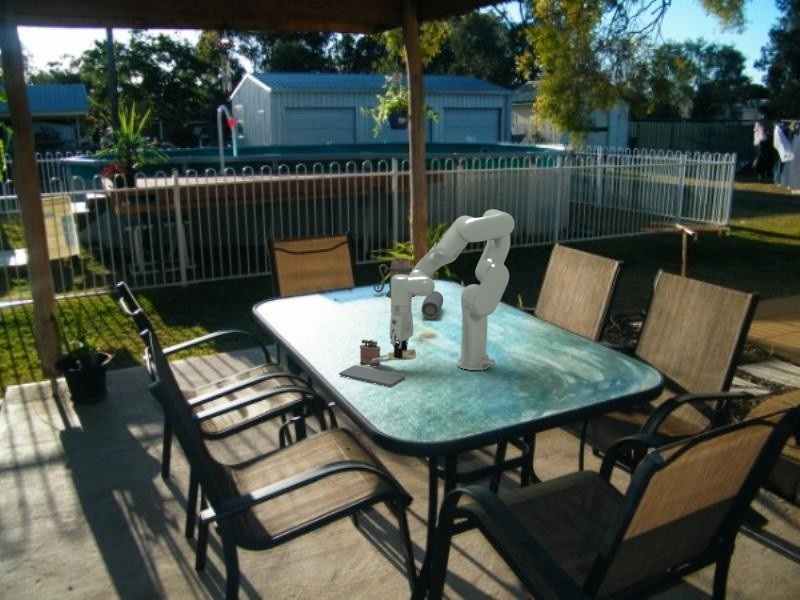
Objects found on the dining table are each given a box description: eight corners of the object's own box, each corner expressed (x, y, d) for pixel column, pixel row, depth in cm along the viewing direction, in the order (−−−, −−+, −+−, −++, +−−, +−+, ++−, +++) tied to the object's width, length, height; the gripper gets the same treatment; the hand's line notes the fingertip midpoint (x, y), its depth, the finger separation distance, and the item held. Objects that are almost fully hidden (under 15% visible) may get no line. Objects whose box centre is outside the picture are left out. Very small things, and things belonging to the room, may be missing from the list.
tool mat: (405, 379, 242) (405, 375, 241) (390, 387, 233) (390, 384, 233) (354, 368, 253) (354, 365, 252) (339, 375, 244) (339, 372, 244)
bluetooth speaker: (439, 321, 316) (440, 301, 313) (420, 320, 317) (420, 300, 315) (444, 309, 338) (444, 290, 335) (425, 308, 339) (426, 289, 337)
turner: (418, 356, 247) (416, 348, 247) (410, 360, 242) (408, 352, 242) (380, 357, 256) (378, 350, 256) (371, 362, 251) (370, 354, 251)
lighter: (381, 364, 257) (381, 339, 254) (378, 367, 254) (378, 342, 251) (361, 362, 259) (361, 337, 256) (358, 365, 256) (358, 340, 253)
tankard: (413, 291, 375) (413, 256, 370) (419, 298, 359) (419, 262, 354) (371, 293, 371) (371, 257, 366) (376, 300, 355) (376, 263, 350)
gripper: (398, 315, 235) (398, 364, 239) (421, 305, 249) (420, 352, 253) (380, 312, 238) (380, 361, 243) (403, 302, 252) (402, 349, 257)
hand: (400, 356), depth 248 cm, fingers closed on turner, 3 cm apart
